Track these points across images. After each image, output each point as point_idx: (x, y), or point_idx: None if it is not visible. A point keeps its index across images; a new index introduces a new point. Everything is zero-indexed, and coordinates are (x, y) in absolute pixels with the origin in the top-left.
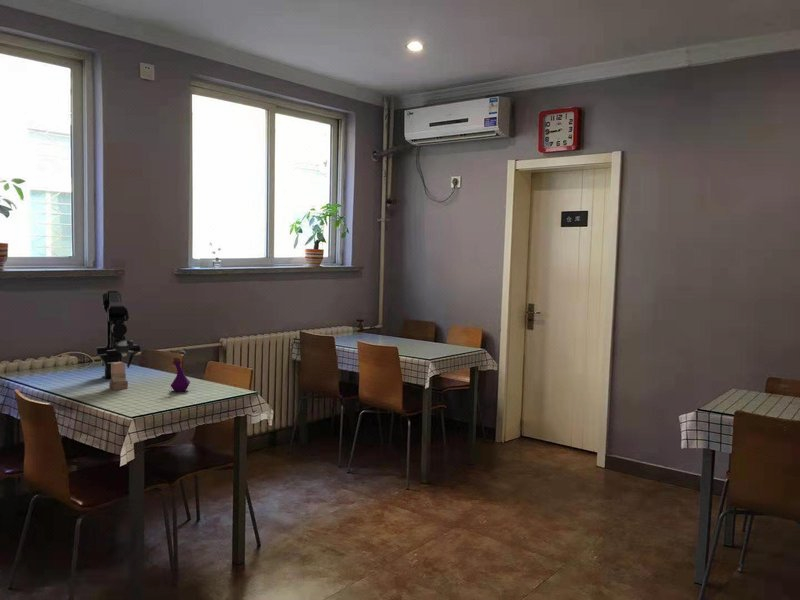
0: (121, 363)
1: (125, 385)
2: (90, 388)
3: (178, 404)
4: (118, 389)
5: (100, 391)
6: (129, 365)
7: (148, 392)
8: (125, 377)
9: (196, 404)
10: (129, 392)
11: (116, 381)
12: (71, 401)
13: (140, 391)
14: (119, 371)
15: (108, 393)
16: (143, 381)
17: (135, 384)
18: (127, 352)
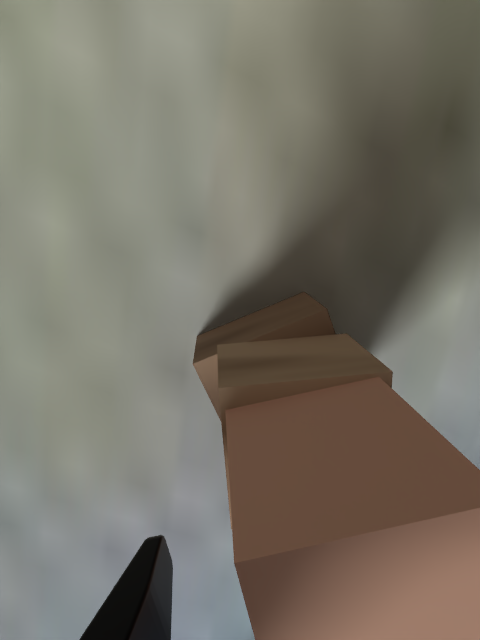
0: (327, 542)
1: (218, 336)
2: (463, 431)
3: None
4: (283, 300)
5: (434, 281)
6: (126, 570)
7: (4, 5)
8: (220, 361)
9: None
10: (208, 110)
11: (319, 337)
12: None
13: (92, 115)
14: (317, 410)
15: (400, 151)
16: (45, 563)
17: (116, 472)
18: None
